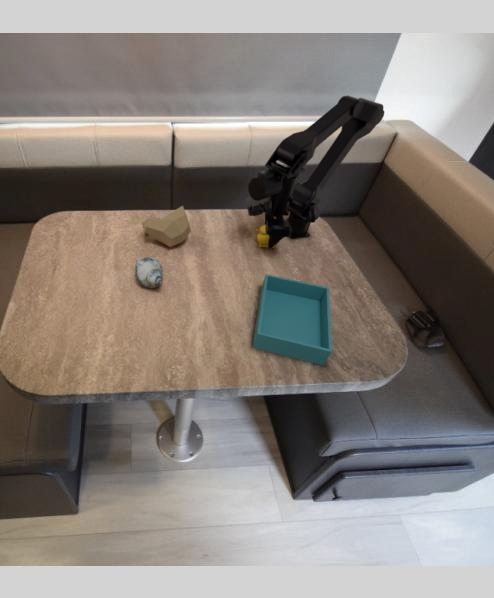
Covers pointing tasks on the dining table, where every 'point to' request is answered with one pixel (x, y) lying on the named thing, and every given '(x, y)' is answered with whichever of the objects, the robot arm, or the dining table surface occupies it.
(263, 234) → the duck
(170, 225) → the tan rock
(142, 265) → the seashell
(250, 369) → the dining table surface
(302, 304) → the teal tray
